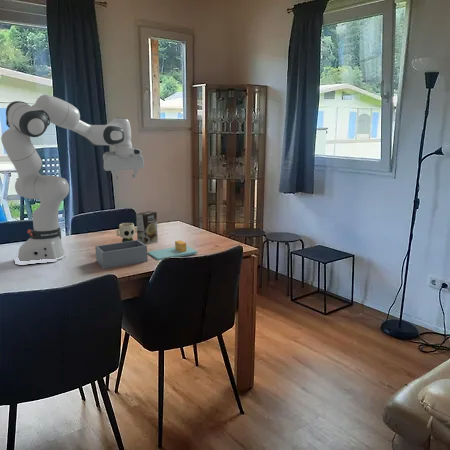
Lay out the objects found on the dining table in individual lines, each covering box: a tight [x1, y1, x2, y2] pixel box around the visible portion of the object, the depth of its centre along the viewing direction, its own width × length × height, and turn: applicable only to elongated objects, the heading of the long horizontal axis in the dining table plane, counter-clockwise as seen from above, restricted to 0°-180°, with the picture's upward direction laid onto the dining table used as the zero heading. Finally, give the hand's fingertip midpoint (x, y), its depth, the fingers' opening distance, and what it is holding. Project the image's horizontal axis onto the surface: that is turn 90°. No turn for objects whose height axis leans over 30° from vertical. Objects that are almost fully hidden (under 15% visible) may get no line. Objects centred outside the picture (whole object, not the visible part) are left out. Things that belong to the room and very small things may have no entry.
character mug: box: [116, 222, 137, 242], centre depth 220 cm, size 11×7×13 cm, turn 127°
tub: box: [94, 239, 149, 270], centre depth 200 cm, size 20×12×8 cm, turn 120°
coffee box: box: [135, 210, 159, 246], centre depth 232 cm, size 9×6×16 cm
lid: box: [147, 240, 198, 261], centre depth 212 cm, size 20×12×6 cm, turn 122°
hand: (125, 178), depth 225 cm, fingers open, 8 cm apart
